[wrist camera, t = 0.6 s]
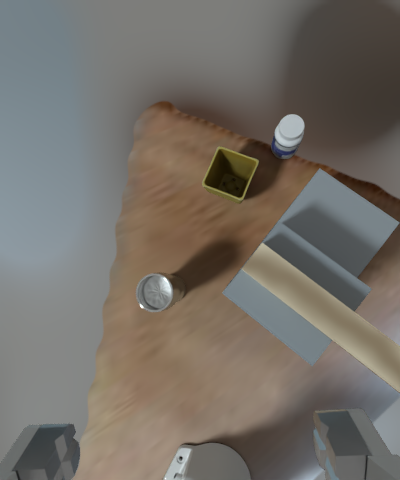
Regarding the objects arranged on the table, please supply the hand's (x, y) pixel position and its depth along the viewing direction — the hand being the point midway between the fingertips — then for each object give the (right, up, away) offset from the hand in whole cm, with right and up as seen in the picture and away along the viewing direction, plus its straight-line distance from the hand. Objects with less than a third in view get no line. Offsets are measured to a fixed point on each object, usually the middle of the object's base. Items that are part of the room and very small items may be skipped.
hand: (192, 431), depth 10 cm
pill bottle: (+19, +27, +57) cm, 66 cm away
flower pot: (+7, +18, +57) cm, 61 cm away
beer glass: (-6, -4, +56) cm, 56 cm away
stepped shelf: (+19, +2, +54) cm, 57 cm away
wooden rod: (+16, -3, +27) cm, 32 cm away
